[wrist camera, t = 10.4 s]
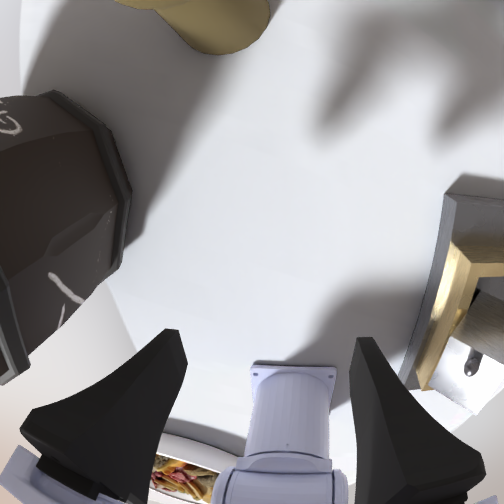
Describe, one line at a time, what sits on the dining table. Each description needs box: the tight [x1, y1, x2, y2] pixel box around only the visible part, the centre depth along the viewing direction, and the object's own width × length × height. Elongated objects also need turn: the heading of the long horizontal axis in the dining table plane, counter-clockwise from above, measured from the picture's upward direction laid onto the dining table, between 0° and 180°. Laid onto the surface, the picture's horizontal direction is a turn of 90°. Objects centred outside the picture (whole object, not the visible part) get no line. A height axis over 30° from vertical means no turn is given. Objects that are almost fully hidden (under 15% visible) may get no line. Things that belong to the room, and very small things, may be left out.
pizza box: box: [149, 433, 238, 504], centre depth 39 cm, size 30×30×8 cm
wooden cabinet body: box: [398, 194, 504, 391], centre depth 18 cm, size 18×13×4 cm
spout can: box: [428, 290, 504, 415], centre depth 15 cm, size 5×5×8 cm
